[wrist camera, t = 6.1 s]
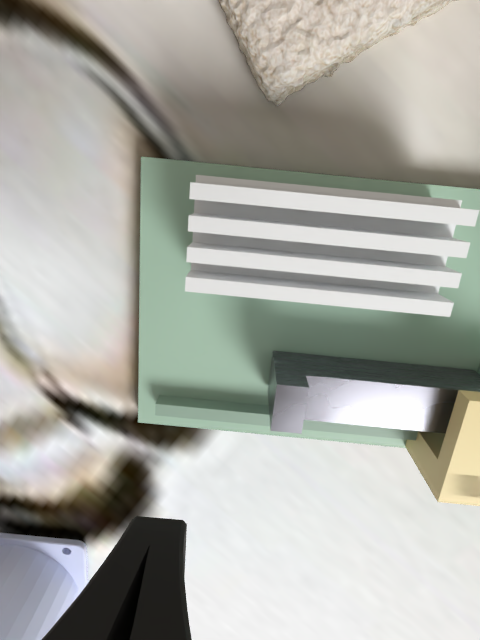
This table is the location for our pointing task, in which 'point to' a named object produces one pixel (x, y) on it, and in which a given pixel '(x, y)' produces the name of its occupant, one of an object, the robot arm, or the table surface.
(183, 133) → the table surface
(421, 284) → the board
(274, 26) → the washcloth
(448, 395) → the bar
